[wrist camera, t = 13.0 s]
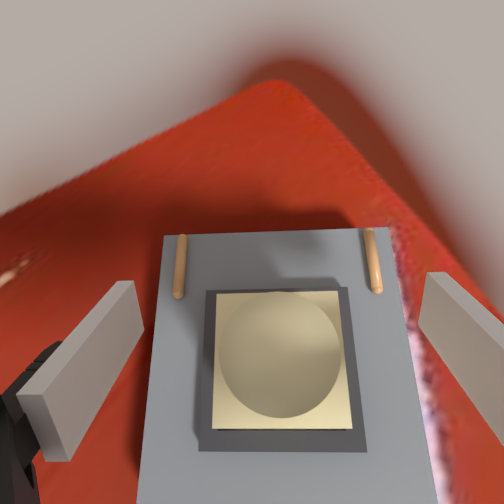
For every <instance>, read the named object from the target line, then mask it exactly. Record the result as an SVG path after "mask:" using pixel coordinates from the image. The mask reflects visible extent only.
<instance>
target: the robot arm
mask: <svg viewBox="0 0 504 504" xmlns="http://www.w3.org/2000/svg"><path fill="white" fill-rule="evenodd" d="M418 326H419V327H420V329H421V330H422V331H423V333H424V334H425V336H426V337H427V339H428V340H429V341H430V343H431V344H432V346H433V347H434V348H435V350H436V351H437V353H438V354H439V356H440V357H441V358H442V360H443V361H444V363H445V364H446V366H447V367H448V368H449V370H450V371H451V373H452V374H453V375H454V377H455V378H456V380H457V381H458V383H459V384H460V385H461V387H462V388H463V390H464V391H465V392H466V394H467V395H468V397H469V398H470V400H471V401H472V402H473V404H474V405H475V407H476V408H477V410H478V411H479V412H480V414H481V415H482V417H483V418H484V419H485V421H486V422H487V424H488V425H489V427H490V428H491V429H492V431H493V432H494V434H495V435H496V436H497V438H498V439H499V441H500V442H501V444H502V445H503V446H504V324H502V323H501V322H500V321H499V320H498V319H497V318H496V317H495V316H494V315H493V314H491V313H490V312H489V311H488V310H487V309H486V308H485V307H484V306H483V305H481V304H480V303H479V302H478V301H477V300H476V299H475V298H474V297H473V296H471V295H470V294H469V293H468V292H467V291H466V290H465V289H464V288H463V287H461V286H460V285H459V284H458V283H457V282H456V281H455V280H454V279H453V278H451V277H450V276H449V275H448V274H447V273H446V272H427V275H426V281H425V287H424V293H423V298H422V304H421V310H420V316H419V322H418ZM143 332H144V326H143V321H142V317H141V312H140V308H139V303H138V299H137V294H136V290H135V285H134V281H117V282H116V283H115V284H114V285H113V286H112V288H111V289H110V290H109V291H108V292H107V293H106V294H105V295H104V297H103V298H102V299H101V300H100V301H99V302H98V303H97V304H96V305H95V307H94V308H93V309H92V310H91V311H90V312H89V313H88V314H87V316H86V317H85V318H84V319H83V320H82V321H81V322H80V323H79V324H78V326H77V327H76V328H75V329H74V330H73V331H72V332H71V333H70V335H69V336H68V337H67V338H66V339H65V340H64V341H57V342H55V343H54V344H52V345H51V346H49V347H48V348H46V349H45V350H43V351H42V352H41V354H40V355H39V356H38V357H37V358H36V359H35V360H34V362H33V363H31V364H30V365H29V366H28V367H27V368H26V369H25V370H26V371H25V372H23V373H22V374H21V375H20V376H19V377H18V378H17V379H16V380H15V381H14V382H13V383H12V384H11V385H10V386H9V387H8V388H7V390H6V391H5V392H4V393H3V394H2V395H0V504H40V498H39V491H38V485H37V478H36V472H35V467H34V465H33V463H32V459H33V458H34V456H35V455H36V453H37V452H38V450H39V449H40V450H41V452H42V454H43V457H44V459H45V461H47V462H70V460H71V458H72V456H73V455H74V453H75V451H76V449H77V448H78V446H79V444H80V442H81V441H82V439H83V437H84V435H85V434H86V432H87V430H88V428H89V427H90V425H91V423H92V421H93V420H94V418H95V416H96V414H97V413H98V411H99V409H100V407H101V405H102V404H103V402H104V400H105V398H106V397H107V395H108V393H109V391H110V390H111V388H112V386H113V384H114V383H115V381H116V379H117V377H118V376H119V374H120V372H121V370H122V369H123V367H124V365H125V363H126V362H127V360H128V358H129V356H130V354H131V353H132V351H133V349H134V347H135V346H136V344H137V342H138V340H139V339H140V337H141V335H142V333H143Z"/></svg>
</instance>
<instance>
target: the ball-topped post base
mask: <svg viewBox="0 0 504 504" xmlns="http://www.w3.org/2000/svg"><path fill="white" fill-rule="evenodd" d="M276 291H278V292H311V291H338V299H339V308H340V317H341V327H342V336H343V345H344V354H345V364H346V373H347V382H348V391H349V401H350V410H351V419H352V429H212V416H213V386H214V357H215V328H216V299H217V294H231V293H268V292H276ZM136 504H438V501H437V495H436V490H435V484H434V479H433V473H432V468H431V462H430V456H429V451H428V445H427V440H426V434H425V429H424V423H423V418H422V412H421V407H420V401H419V396H418V390H417V385H416V379H415V373H414V368H413V362H412V357H411V351H410V346H409V340H408V335H407V329H406V324H405V318H404V313H403V307H402V301H401V296H400V290H399V285H398V279H397V274H396V268H395V263H394V257H393V252H392V246H391V241H390V235H389V229H388V227H381V228H370V227H367V228H353V229H326V230H299V231H272V232H244V233H217V234H190V235H184V234H180V235H164V241H163V251H162V261H161V270H160V280H159V290H158V299H157V309H156V319H155V328H154V338H153V348H152V358H151V367H150V377H149V387H148V396H147V406H146V416H145V425H144V435H143V445H142V454H141V464H140V474H139V483H138V493H137V503H136Z"/></svg>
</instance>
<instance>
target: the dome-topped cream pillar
mask: <svg viewBox="0 0 504 504" xmlns="http://www.w3.org/2000/svg"><path fill="white" fill-rule="evenodd" d="M212 429H352V419H351V410H350V401H349V391H348V382H347V373H346V364H345V354H344V345H343V336H342V327H341V317H340V308H339V299H338V291H311V292H278V291H276V292H268V293H231V294H217V299H216V328H215V357H214V386H213V416H212Z"/></svg>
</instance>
